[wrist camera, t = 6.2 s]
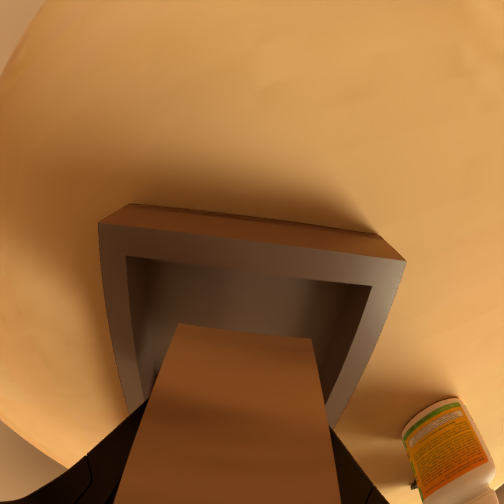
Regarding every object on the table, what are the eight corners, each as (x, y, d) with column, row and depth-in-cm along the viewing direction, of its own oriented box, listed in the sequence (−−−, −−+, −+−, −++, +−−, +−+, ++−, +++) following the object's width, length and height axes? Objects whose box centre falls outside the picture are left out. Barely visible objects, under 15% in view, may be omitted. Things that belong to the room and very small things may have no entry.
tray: (290, 463, 18) (292, 491, 15) (157, 447, 18) (150, 475, 15) (379, 235, 11) (406, 261, 9) (129, 203, 11) (97, 222, 9)
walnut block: (285, 415, 10) (292, 558, 5) (181, 403, 10) (148, 544, 4) (311, 338, 9) (345, 533, 3) (178, 322, 9) (111, 511, 3)
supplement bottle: (386, 435, 17) (416, 546, 8) (443, 389, 15) (496, 503, 6) (422, 442, 18) (452, 532, 9) (471, 402, 16) (516, 493, 7)
